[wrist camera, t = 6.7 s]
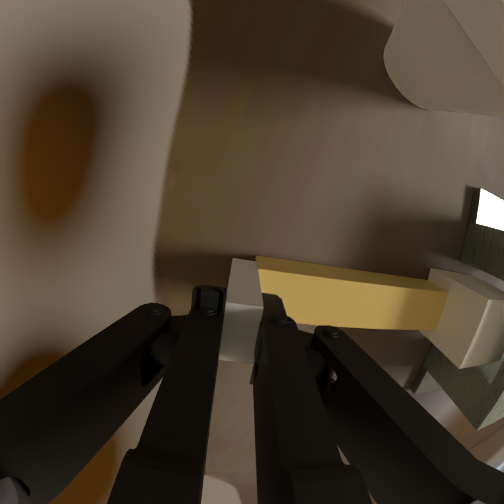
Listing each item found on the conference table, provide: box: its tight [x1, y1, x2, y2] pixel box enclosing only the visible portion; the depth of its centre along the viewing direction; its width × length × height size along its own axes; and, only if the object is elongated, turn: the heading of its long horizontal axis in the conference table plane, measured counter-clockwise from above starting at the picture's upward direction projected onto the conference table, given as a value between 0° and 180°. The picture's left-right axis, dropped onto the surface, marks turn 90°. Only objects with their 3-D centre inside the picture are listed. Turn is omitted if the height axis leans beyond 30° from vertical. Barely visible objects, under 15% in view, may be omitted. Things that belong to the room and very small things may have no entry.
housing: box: [410, 188, 504, 431], centre depth 14 cm, size 20×6×10 cm, turn 171°
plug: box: [255, 255, 504, 369], centre depth 15 cm, size 5×20×7 cm, turn 81°
